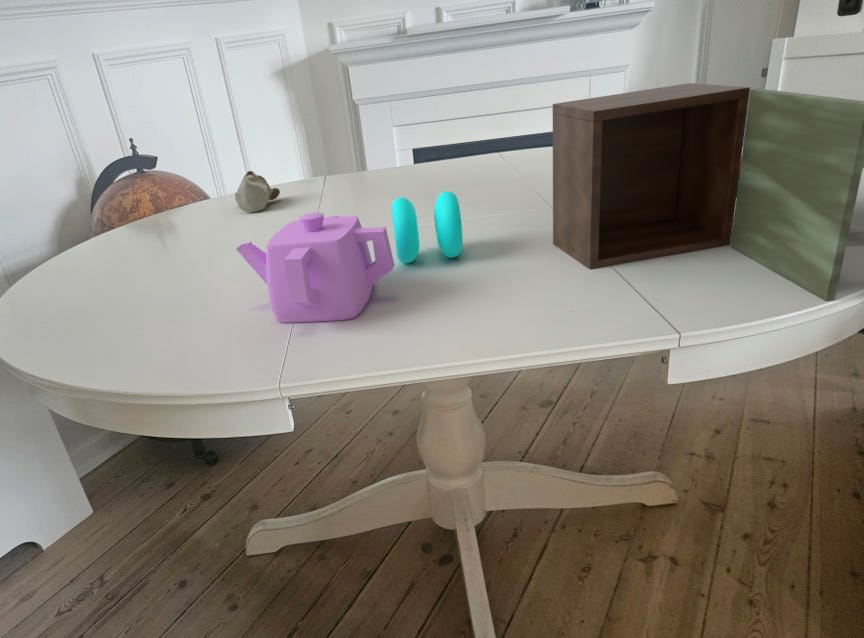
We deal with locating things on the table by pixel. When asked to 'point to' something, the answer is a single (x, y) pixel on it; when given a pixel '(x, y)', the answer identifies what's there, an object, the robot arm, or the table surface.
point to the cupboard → (647, 172)
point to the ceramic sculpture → (254, 193)
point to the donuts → (445, 227)
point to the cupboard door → (800, 186)
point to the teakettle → (320, 267)
